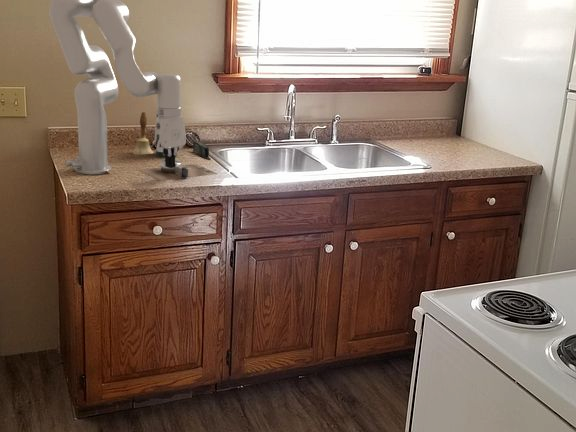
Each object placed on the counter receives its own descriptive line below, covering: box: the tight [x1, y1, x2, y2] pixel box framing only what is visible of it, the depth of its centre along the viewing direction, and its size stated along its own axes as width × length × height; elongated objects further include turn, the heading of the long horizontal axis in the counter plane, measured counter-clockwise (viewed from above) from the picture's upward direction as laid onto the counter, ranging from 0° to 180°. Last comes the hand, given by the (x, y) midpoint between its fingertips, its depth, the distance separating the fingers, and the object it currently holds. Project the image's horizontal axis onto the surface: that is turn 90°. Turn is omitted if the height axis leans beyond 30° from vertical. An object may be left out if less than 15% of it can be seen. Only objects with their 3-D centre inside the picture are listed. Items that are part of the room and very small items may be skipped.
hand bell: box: [131, 111, 154, 156], centre depth 269 cm, size 8×8×16 cm
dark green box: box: [192, 140, 211, 160], centre depth 273 cm, size 5×3×15 cm
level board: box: [138, 163, 219, 182], centre depth 244 cm, size 23×15×1 cm, turn 127°
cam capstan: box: [160, 159, 189, 178], centre depth 241 cm, size 14×7×3 cm, turn 37°
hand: (170, 166), depth 234 cm, fingers closed
